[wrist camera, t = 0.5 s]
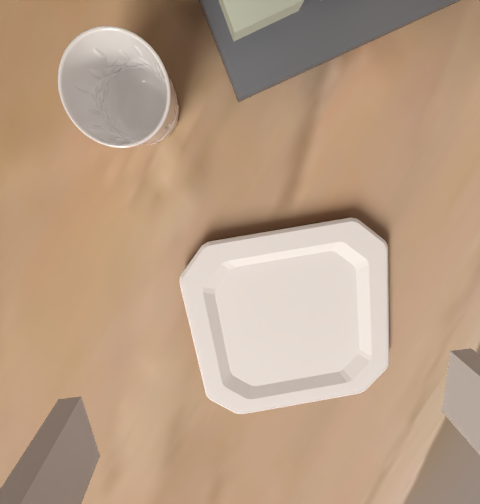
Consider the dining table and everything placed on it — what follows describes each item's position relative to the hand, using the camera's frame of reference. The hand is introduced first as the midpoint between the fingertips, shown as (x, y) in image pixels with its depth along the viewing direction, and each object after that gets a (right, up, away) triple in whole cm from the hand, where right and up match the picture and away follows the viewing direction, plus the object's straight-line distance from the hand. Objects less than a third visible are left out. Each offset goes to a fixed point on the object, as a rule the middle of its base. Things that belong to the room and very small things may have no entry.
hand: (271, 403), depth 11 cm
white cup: (-11, +20, +21) cm, 31 cm away
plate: (+5, -3, +29) cm, 30 cm away
